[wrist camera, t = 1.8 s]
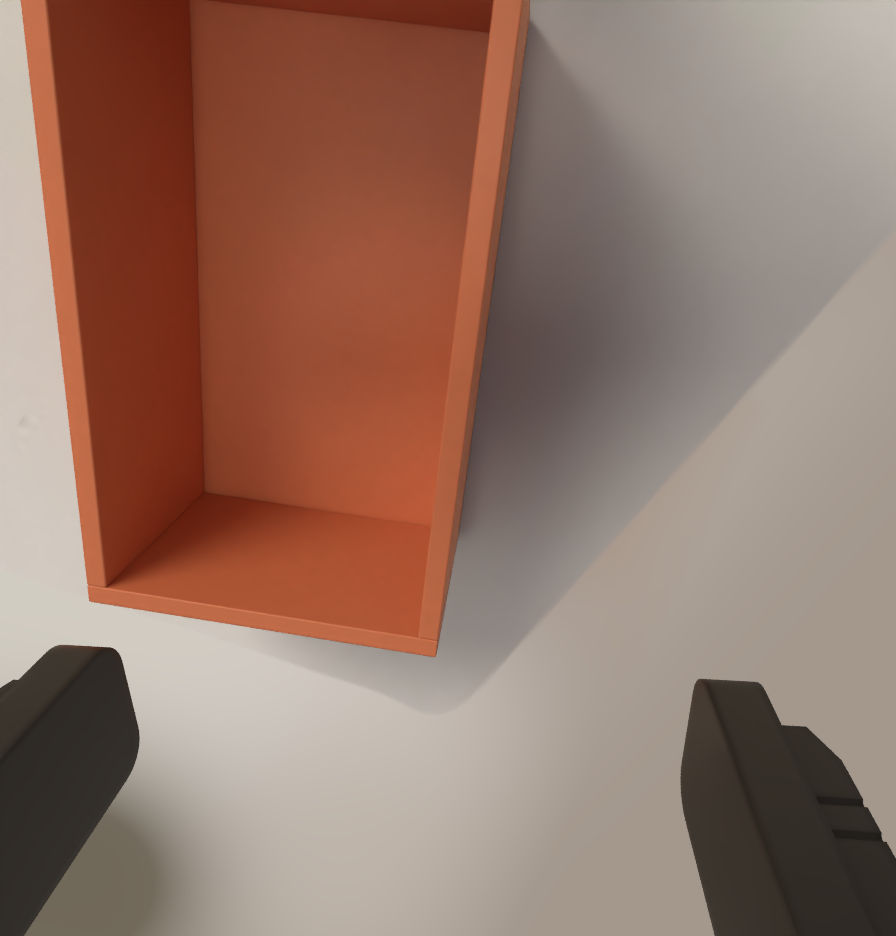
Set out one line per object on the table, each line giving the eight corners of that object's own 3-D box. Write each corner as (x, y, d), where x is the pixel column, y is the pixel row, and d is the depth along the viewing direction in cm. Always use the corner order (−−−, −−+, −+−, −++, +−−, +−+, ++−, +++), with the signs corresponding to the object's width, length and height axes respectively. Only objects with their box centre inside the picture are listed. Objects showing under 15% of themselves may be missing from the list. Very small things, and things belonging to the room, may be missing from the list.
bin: (177, -24, 24) (5, -125, 16) (529, 16, 23) (532, -69, 15) (196, 498, 32) (88, 602, 24) (458, 537, 31) (435, 657, 23)
